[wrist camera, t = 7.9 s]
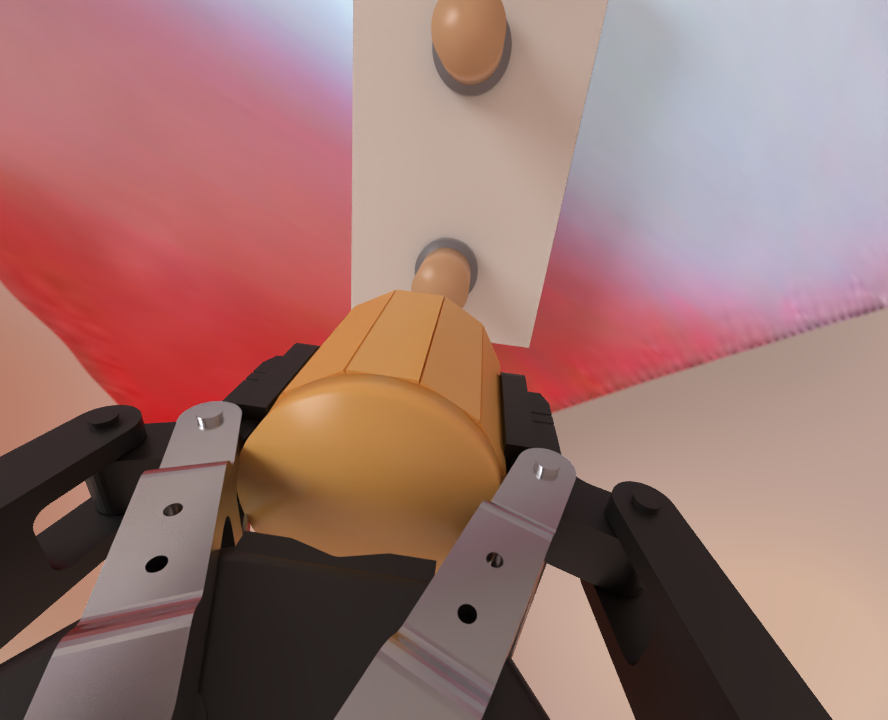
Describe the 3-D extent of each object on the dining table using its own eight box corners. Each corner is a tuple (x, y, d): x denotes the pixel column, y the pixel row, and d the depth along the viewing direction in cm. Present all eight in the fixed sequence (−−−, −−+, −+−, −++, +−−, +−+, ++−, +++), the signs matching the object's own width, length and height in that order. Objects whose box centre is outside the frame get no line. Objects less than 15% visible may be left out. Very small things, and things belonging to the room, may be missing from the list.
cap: (330, 280, 13) (218, 374, 7) (511, 304, 13) (529, 419, 7) (333, 427, 15) (250, 575, 10) (483, 449, 15) (481, 612, 10)
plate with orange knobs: (370, -58, 21) (318, -151, 15) (604, -32, 21) (658, -116, 14) (363, 307, 31) (328, 352, 24) (525, 330, 30) (536, 381, 24)
